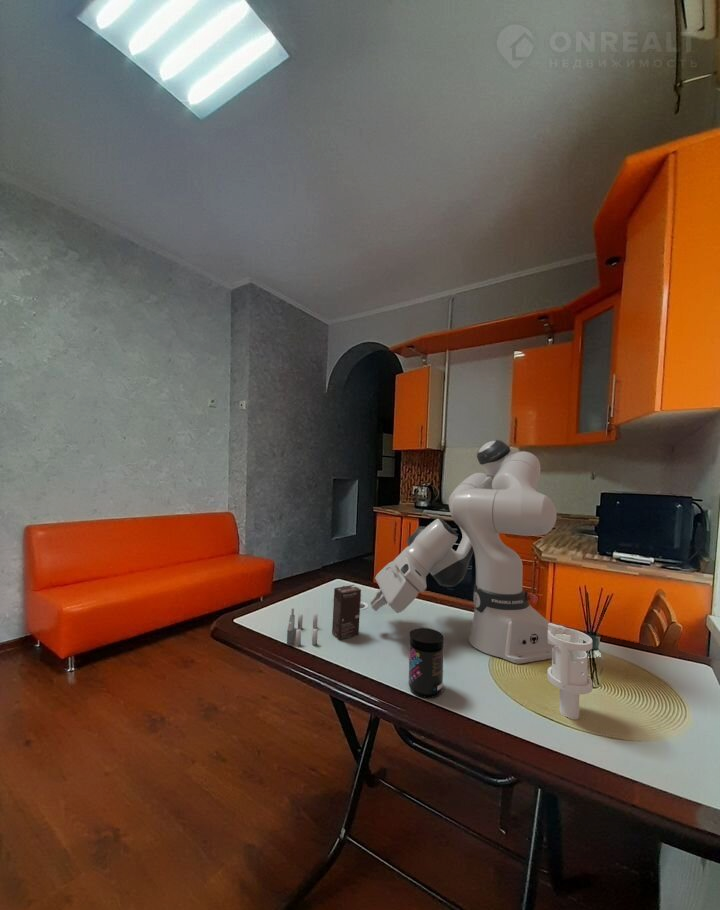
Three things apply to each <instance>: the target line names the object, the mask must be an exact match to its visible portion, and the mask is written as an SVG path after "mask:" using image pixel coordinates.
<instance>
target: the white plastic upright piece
mask: <svg viewBox="0 0 720 910" xmlns="http://www.w3.org/2000/svg"><path fill="white" fill-rule="evenodd" d="M564 634H566V636H570V640H569V641H567V640H564V639H560V638H558V636H556V635H564ZM578 639H579V640H582V641H583V642H584V643H583V642H578ZM548 644H551V645H554V646H555V647H553V648H552V658H551V666H550V667H548V668H547V671H546V672H547V676H546V677H547V680H548V681H549V683H551V684H552V685H554V686H555V687H556V688H557V689H559V712H560V714H561V715H562V716H563V717H565V716H566V717H565V718H567V717H568V718H567V719H569V718H572V719H571V720H579V719H580V695H587V694H590V693H592V692H593V680H592V678H591V677H590V676H589V675H588V653H587V652H589V651H591V650H592V649H593V639H592V637H591V636H590V635H588V634H586V633H584V632H582V631H580V630H577V629H573V628H570V627H569V628H568V627H565V626H564V625H558V624H555V623H552V622H549V624H548Z"/></svg>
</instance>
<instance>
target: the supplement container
mask: <svg viewBox="0 0 720 910" xmlns="http://www.w3.org/2000/svg"><path fill="white" fill-rule="evenodd" d="M444 638H445V637H444V634H442V632H440V631H439V630H435V629H432V628H428V627H418V628H417V627H416V628H414V629H412V630H410V632H409V640H408V641H409V647H408V648H409V651H408V653H409V658H408V687H409V689H410V690H411V692H412V693H413V694H415V695H416V696H418V697H421V698H424V699H425V698H426V699H431V698H436V697H439V696H440V695H441V693H442V691H443V686H444V684H443V683H444V682H443V681H444V647H445V646H444V644H445V641H444Z"/></svg>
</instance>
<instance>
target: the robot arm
mask: <svg viewBox="0 0 720 910" xmlns="http://www.w3.org/2000/svg"><path fill="white" fill-rule="evenodd" d="M476 459H477V461H478V463H479V465H481V466H482V468H483V469H484V471H485V473H484V472H474V473H473V474H471V475H469V476H468V477H466V478H465V479H463V481H461V482H460V483H459V484H458V485H457V486H456V487H455V488H454V490H453V491H452V493H451V494H450V496H449V498H448V509H449V512H450V516H451V519H452V520H453V522H454V523H455V524H456V525H457V526H458V528H459V529H460V532H461V534H462V535H461V536H462V538H461V540H460V542H459V545H458V547H457V549H456V550H455V549H453V546H454V545H455V543H456V542H457V540H458V538H459V537H458V533H457V532H456V531H455V530H454V529H453V528H452V527H451V526H450V525H449V524H448V523H447V522H446V521H444V519H442V518H437V519H434V520H433V521H432V522H430V523H429V524H428V525H427V526H422V525H421V526H420V525H419V526H418V528H417V529H416V530H415V531H414V532H413V533H412V534H411V535H410V536H409V537H407V538H406V539H407V540H406V542H407V546H406V547H405V548H403V550H402V551H400V553H399V554H398V556H396V557H395V558H394V559H393V560H392V561H390V562H389V563H387V564H385V566H384V567H383V568H382V569H381V570H379V572H378V573H376V576H375V580H376V583H377V585H378V587H379V589H378V590H377V592H376V593H375V595H374V597H373V599H371V600H370V605H371V609H373V610H374V611H375V612H377V611H378V610H380V608H382V607H384V606H386V605H387V604H388V606H389V607H390V608H391V610H393V612H395V613H397V614H399V613H402V612H403V611H404V610H406V609H407V608H408V606H409V605H411V603H413V601H414V600H415V599H416V598H417V597H418V595H419V593H424V591H426V590H427V587H428V586H427V576H428V575H429V574H430V575H431V576H432V578H434V580H435V581H436V582H437V584H438V585H439V586H442V587H446V588H447V587H448V588H452V587H453V588H454V587H456V586H457V585H458V584H459V583H461V581H462V580H463V579H464V577H465V575H466V573H467V571H468V568H469V565H470V561H471V558H472V556H473V555H474V560H475V583H474V585H473V607H474V610H473V618H472V624H471V628H470V633H469V635H468V637H467V638H468V642H469V644H470V645H471V646H473V647H474V648H475V649H476V650H479V651H480V652H482V653H483V654H484V653H485V654H487V655H490V656H494V657H497V658H501V659H504V660H506V661H508V662H511V663H514V664H517V665H518V664H525V663H530V662H531V663H532V662H537V661H544V660H552V648H553V647H555V646H554V645H551V644H548V624H549V623H550V622H549V621H548V620H547V618H545V617H544V616H543V615H541V613H540V612H538V610H536V609H534V607H532V606H531V604H530V603H533V604H536V603H537V602H538V601H539V597H538V595H537V594H535V593H534V594H533V592H528V591H526V590H525V589H523V569H524V568H523V565H524V564H523V561H522V559H521V557H520V555H519V554H518V553H517V551H515V550H514V549H512V548H511V547H509V546H507V545H506V544H505V543H504V542H503V541H502V539H501V537H500V534H505V535H506V534H507V535H516V536H523V537H530V536H544V535H546V536H547V534H548V533H550V532H551V531H552V530H553V528H554V526H555V525H556V523H557V522H556V521H557V509H556V507H555V504H554V502H553V501H552V500H551V498H550V497H549V496H548V495H547V494H543V493H541V492H539V491H537V490H536V488H537V485H538V483H539V481H540V477H541V463H540V460H539V458H538V457H537V456H536V455H535V454H533V453H532V452H529V451H523V450H522V451H517V452H516V453H514V451H512V449H511V447H510V446H509V445H508V444H506V442H504V441H502V440H500V439H493V440H491V441H488V442H486V443H484V444H483V445H482V446H481V447H480V449H479V450H478V451H477V454H476ZM529 601H530V603H529Z"/></svg>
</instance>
